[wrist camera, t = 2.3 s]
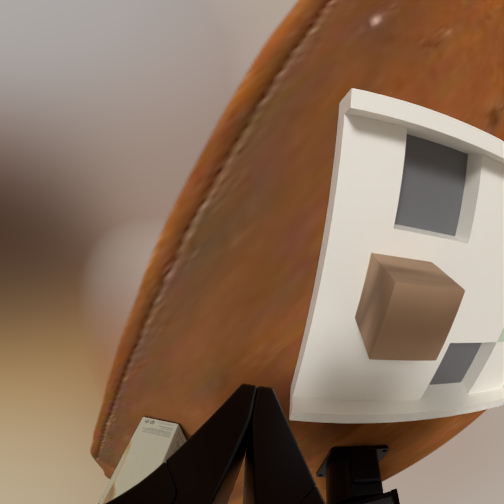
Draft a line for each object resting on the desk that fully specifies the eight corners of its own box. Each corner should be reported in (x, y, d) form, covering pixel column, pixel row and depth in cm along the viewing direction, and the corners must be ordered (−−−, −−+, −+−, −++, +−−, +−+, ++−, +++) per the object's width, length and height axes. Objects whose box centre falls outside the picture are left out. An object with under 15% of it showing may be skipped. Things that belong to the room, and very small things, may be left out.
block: (412, 322, 15) (436, 360, 11) (354, 317, 16) (369, 359, 12) (431, 262, 14) (465, 290, 10) (371, 252, 14) (395, 282, 11)
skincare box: (142, 414, 24) (93, 503, 13) (180, 422, 24) (137, 521, 12) (159, 447, 26) (123, 525, 14) (193, 454, 25) (162, 539, 14)
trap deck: (493, 383, 18) (506, 403, 15) (290, 386, 20) (289, 419, 17) (559, 188, 12) (584, 195, 9) (339, 103, 14) (351, 88, 11)
